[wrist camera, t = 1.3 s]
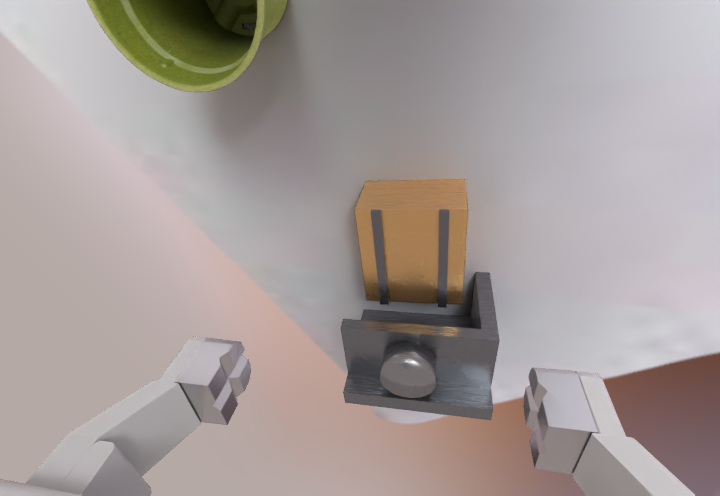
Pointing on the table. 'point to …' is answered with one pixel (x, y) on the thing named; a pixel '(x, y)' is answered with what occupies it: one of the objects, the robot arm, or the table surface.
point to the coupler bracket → (425, 358)
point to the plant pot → (188, 37)
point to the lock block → (413, 240)
